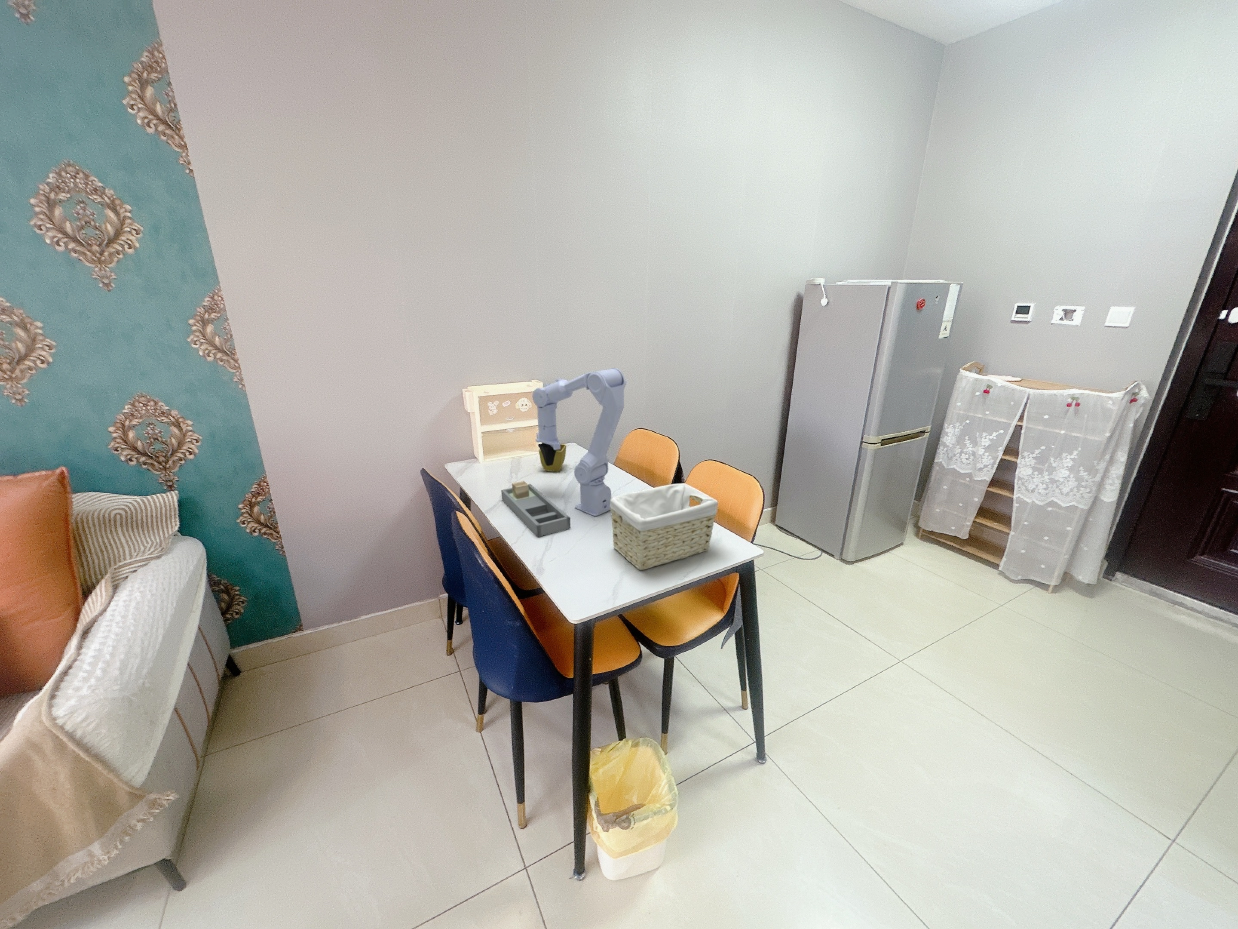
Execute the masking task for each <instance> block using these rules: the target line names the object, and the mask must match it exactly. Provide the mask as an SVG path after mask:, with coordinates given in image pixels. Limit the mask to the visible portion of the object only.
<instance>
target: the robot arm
mask: <svg viewBox="0 0 1238 929" xmlns="http://www.w3.org/2000/svg"><path fill="white" fill-rule="evenodd" d="M626 385H627V380H626V379H625V376H624V374H623V372H622V371H621V370H620V369H619V368H616V367H612V368H608V369H602V370H597V371H596V370H595V371H591V372H586V373H584V374H582V375H579V376H577V377H574V378H573V379H570V380H567V379H565V378H564V379H562V378H561V377H560V378H557V379H555V381H554V382H553V383H547V384H545V387H544V386H543V387H537V388H535V389H534V390H533V392H532V401H533V404H535V405H536V410H537V413H536V414H537V428H538V432H537V433H536V438H535V442H536V443H538V444H537V447H538V448H539V449H540V450H541V452H542V454H543V458H544V461H545V464H546V465H547V466H550V465H553V462H554V458H555V454H556V451H557V449H561V448H560V444H561V443H560V442H559V439H558V438H559V437H558V434H557V430H558V429H557V411H556V410H557V409H558V403H559V402H561V401H564V400H566V399H569V398H571V397H572V395H573V393H574V392H575V391H578V390H581V389H584V388H585V389H586V390H589V391H590V393H591V395H592V396H593V397H594V399H595V400H596V401H597V402H598V404H599V405H600V406H601V407H602V409H601V411H600V412H601V413H600V416H599V419H598V422H597V424H596V427H595V429H594V430H595V431H594V433H593V437H592V439H591V442H590V444H589V448H588V449H587V452H586V454H584V455H583V456H582V457H581V458H580V460H579V463H578V464H577V465H576V466H575V467H574V471H573V474H574V477H575V479H576V481H577V483H578V484H579V493H580V494H579V495H580V503H579V504H576V505H575V506H574V509H577V510H579V511H581V512H584V513H586V514H588V515H591V516H593V517H597V516H599V515H602V514H604V513H606V512H608V511H611V508H610V499H611V498H612V490H611V488H610V487H609V486H608V485H607V484H606V483H605V481H604V480H605V479H606V478H605V476H607V474H608V472H609V462H610V458H609V457H608V456H607V454H608V451H609V448H610V445H611V443H612V440H613V438H614V435H615V432H616V429H617V426H618V424H619V421H620V419H621V416H622V413H623V412H624V408H625V407H624V406H625V387H626Z"/></svg>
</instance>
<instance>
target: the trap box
mask: <svg viewBox="0 0 1238 929" xmlns="http://www.w3.org/2000/svg"><path fill="white" fill-rule="evenodd" d="M527 484H528V486H529V497H525V498H520V499H517V498H516V497H515V496H513V491H512V487H509V488H505V489H501V490H500V491H501V501H502V502H504V504H505V505H506V506H507V507H508V508H509V509H510V510H511V511H512V512H513V513H514V514H515V515H516V516H517V517H518V518H519V519H520V520H521V521H522V522H523V524H524V525H525V526H526V527H527V528H528V529H529V530H530V531H531V532H532V533H533V534H534V535H535V537H537V538H540V537H544V536H543V535H545V536H548V535H547V534H549V535H552V534H551V533H553V534H556V533H559V532H558V531H560V532H563V530H564V531H566V529H567V530H570V529H569V528H571V516H569V515H568V514H566V513H565V512H564V511H563V510H562V509H561V508H559V507H558V506H557V505H556V504H555V503H554V502H552V501H551V500H550V499H549V498H547V497H546V495H544V494H543V493H542V492H540V490H538V489H537V488H536V487H535V486H533V485H532V484H531V483H527ZM555 532H556V533H555Z"/></svg>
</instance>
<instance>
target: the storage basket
mask: <svg viewBox="0 0 1238 929" xmlns="http://www.w3.org/2000/svg"><path fill="white" fill-rule="evenodd" d="M691 500H693V501H696V502H697V503H699V504H696V505H695V506H690V503H691V502H690V501H691ZM718 505H719V502H718V500H717V499H715V498H713V497H712V496H710V495H708V494H706V493H704V492H703V491H700V490H699V489H697V488H695V487H693V486H691V485H689V484H687V483H685V482H683V483H682V482H681V483H672V484H667V485H661V486H660V485H659V486H656V487H652V488H647V489H642V490H637V491H631V492H626V493H623V494H619V495H615V496H614V497H611V499H610V508H611V510H610V514H611V515H610V516H611V522H612V523H611V526H612V540H613V547H614V549H615V550H616V551H617V552H618V553H620V554H621V555H622V557H624V558H625V559H626V560H627V561H628V562H629V563H631V564H632V566H634V567H635V568H636V569H638V571H639V570H640V571H642V570H648V569H651V568H654V567H657V566H660V565H664V564H667V563H670V562H673V561H676V560H681V559H682V560H683V559H686V558H688V557H691V556H692V557H693V555H697V554H701V553H702V552H707V551H709V549H710V543H711V538H712V535H713V529H714V523H715V518H716V515H717V513H718Z"/></svg>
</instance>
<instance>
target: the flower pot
mask: <svg viewBox="0 0 1238 929" xmlns="http://www.w3.org/2000/svg"><path fill="white" fill-rule="evenodd" d="M560 448H561V449H557V451H556V454H555V458H554V462H553V465H550V466H547V465H546V464H545V461H544V458H543V454H542V452H541V450H540V448H539V450H538V455H539V459H540V464H541V466H542V468H543V469H544V471H545V472H557V473H558V472H560V470H561V469H562V467H563V465H564V463H565V459H566V454H567V453H566V452H567V444H564V443H563V444H562V443H560Z"/></svg>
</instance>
